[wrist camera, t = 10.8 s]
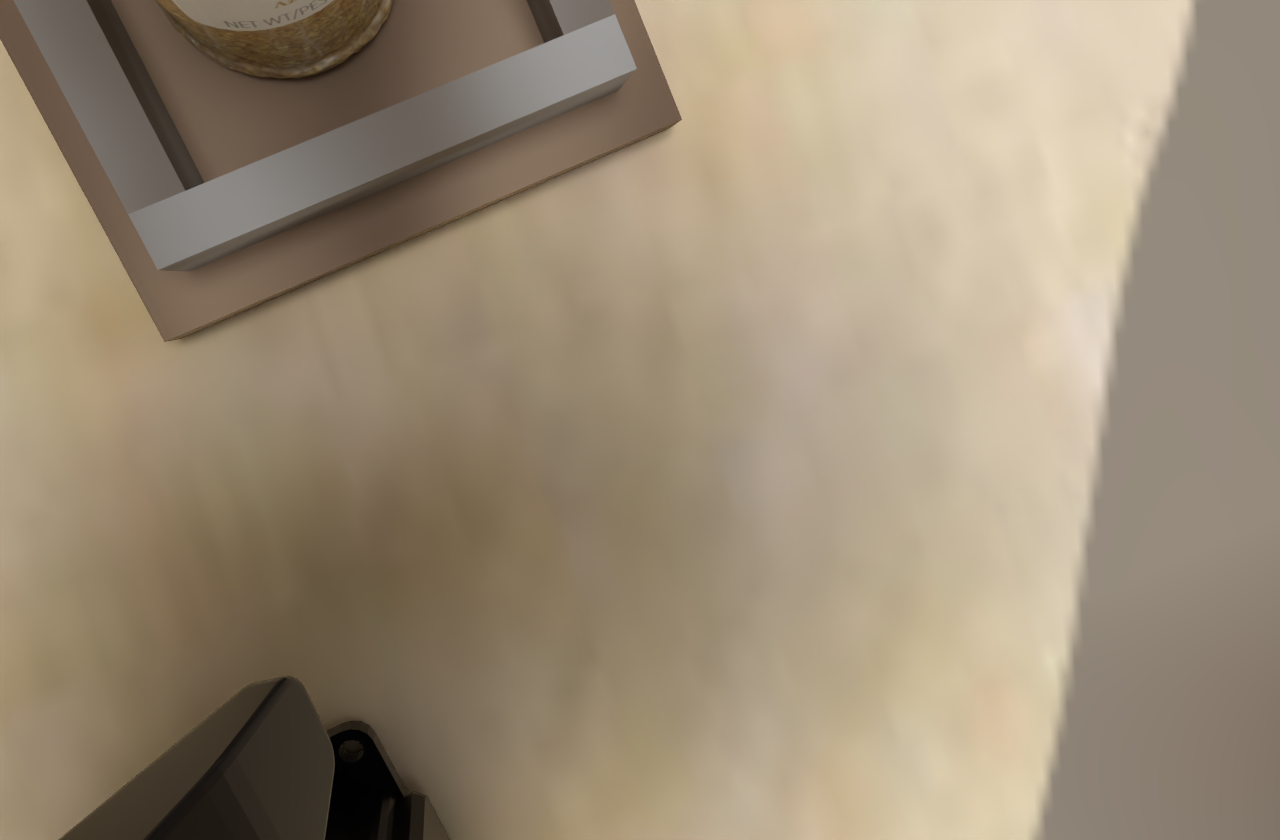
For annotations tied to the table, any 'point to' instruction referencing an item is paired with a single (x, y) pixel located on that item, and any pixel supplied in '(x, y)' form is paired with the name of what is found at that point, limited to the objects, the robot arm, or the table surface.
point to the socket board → (322, 134)
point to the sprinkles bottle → (277, 32)
